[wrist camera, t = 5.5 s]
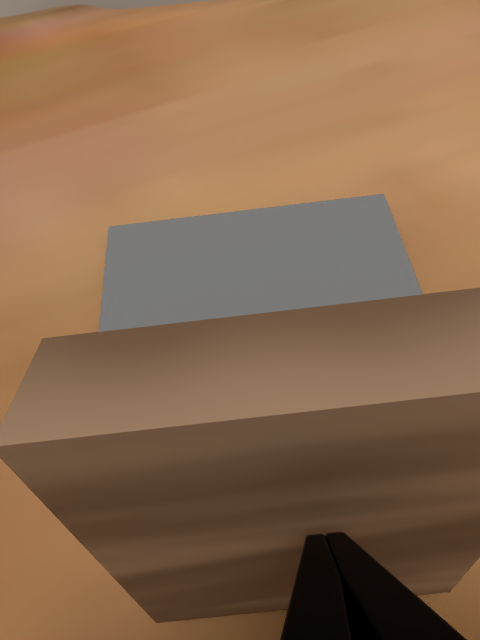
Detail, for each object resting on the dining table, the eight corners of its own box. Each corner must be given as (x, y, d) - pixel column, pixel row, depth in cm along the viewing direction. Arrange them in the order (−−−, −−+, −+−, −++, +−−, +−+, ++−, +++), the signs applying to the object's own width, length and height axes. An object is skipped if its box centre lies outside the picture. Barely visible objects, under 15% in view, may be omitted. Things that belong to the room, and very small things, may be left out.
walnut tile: (449, 591, 13) (634, 374, 6) (156, 623, 13) (-10, 446, 6) (417, 511, 15) (525, 277, 8) (163, 539, 15) (44, 333, 8)
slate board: (482, 471, 15) (490, 469, 15) (87, 515, 16) (81, 514, 15) (381, 201, 23) (384, 193, 22) (112, 233, 23) (108, 226, 22)
